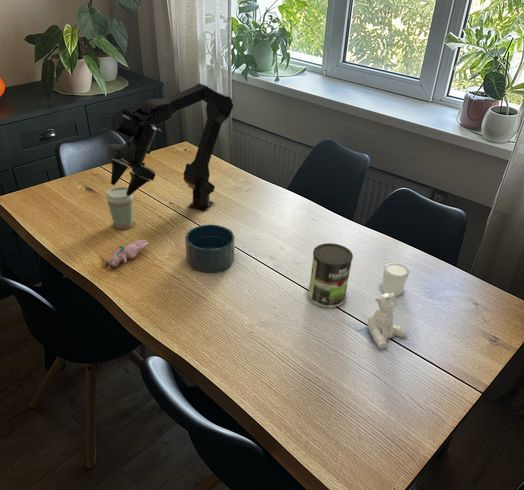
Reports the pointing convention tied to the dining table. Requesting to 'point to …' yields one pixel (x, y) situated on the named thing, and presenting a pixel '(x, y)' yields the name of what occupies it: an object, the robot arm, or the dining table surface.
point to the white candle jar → (394, 278)
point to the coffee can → (329, 274)
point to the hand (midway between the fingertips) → (119, 189)
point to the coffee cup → (120, 207)
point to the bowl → (210, 248)
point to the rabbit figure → (125, 253)
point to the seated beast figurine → (384, 321)
